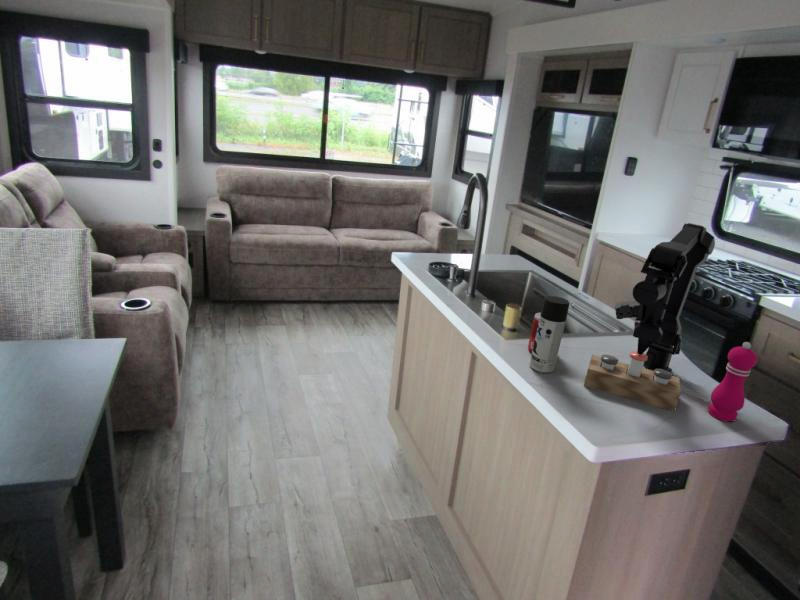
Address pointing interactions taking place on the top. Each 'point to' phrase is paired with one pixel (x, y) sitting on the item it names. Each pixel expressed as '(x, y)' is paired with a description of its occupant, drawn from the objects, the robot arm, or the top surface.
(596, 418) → the top surface
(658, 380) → the plug
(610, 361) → the plug
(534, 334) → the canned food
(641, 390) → the socket board
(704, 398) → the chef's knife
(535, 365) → the spray can
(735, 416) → the pepper mill
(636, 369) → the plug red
